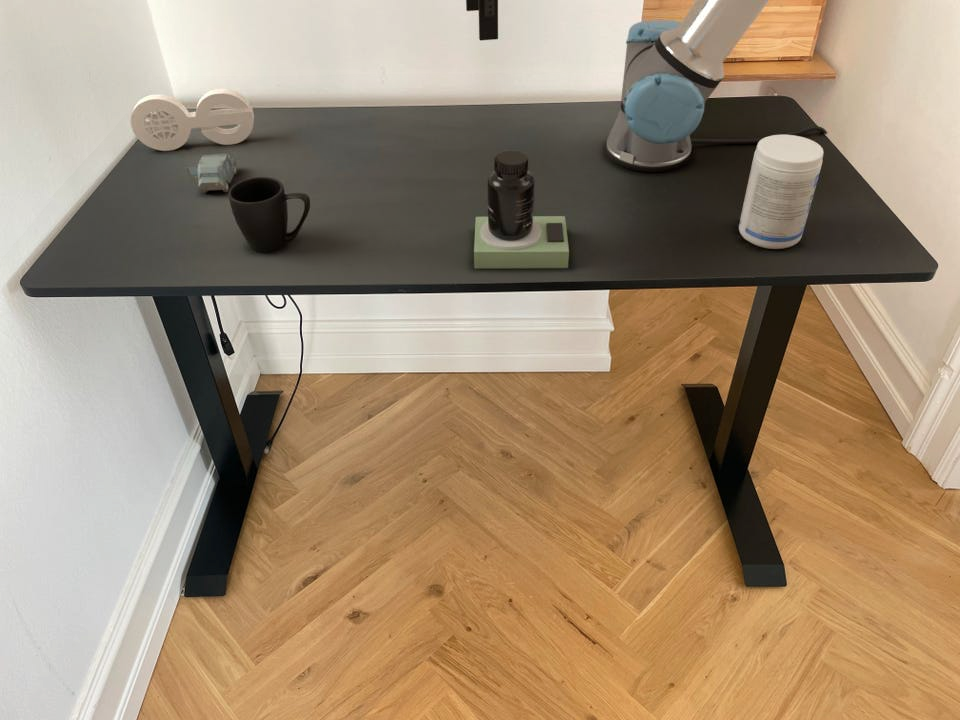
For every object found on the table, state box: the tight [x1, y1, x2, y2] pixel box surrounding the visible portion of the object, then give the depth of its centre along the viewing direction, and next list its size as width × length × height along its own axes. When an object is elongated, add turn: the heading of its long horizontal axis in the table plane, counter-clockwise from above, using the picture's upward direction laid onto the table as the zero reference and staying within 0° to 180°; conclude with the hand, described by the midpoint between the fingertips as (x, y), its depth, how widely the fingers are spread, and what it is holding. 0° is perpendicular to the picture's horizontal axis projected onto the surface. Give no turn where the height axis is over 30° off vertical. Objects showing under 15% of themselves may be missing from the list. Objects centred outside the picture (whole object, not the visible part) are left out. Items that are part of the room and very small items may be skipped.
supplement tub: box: [738, 134, 824, 250], centre depth 118 cm, size 10×10×15 cm
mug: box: [227, 176, 311, 254], centre depth 120 cm, size 8×12×10 cm
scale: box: [473, 215, 570, 270], centre depth 120 cm, size 14×10×4 cm
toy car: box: [186, 153, 238, 194], centre depth 137 cm, size 6×10×5 cm, turn 1°
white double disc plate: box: [130, 88, 255, 152], centre depth 147 cm, size 22×2×10 cm, turn 100°
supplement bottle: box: [487, 149, 535, 240], centre depth 115 cm, size 7×7×12 cm
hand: (481, 24), depth 120 cm, fingers open, 13 cm apart
